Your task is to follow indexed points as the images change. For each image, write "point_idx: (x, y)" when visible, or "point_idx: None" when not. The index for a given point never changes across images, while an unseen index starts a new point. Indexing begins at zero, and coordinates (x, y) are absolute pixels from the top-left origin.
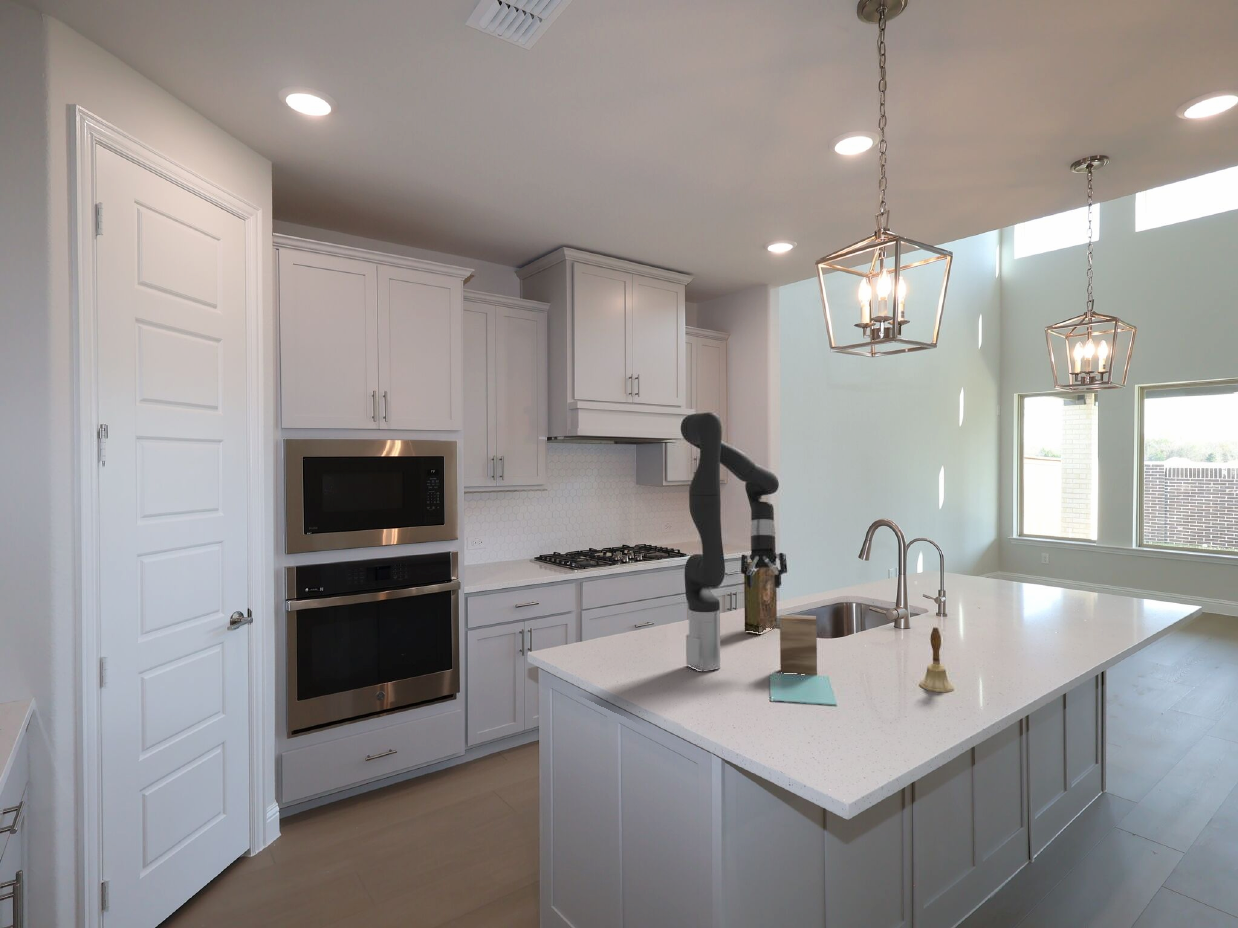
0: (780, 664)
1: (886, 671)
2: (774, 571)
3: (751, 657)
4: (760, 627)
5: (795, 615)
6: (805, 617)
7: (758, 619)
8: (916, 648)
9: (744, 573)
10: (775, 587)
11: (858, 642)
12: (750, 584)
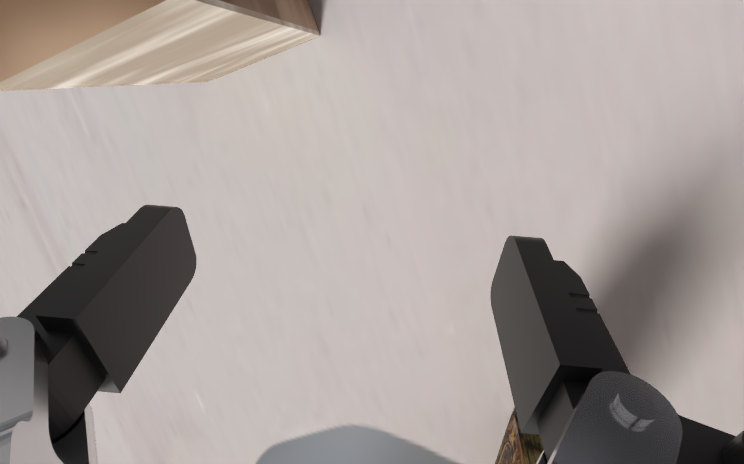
0: (302, 6)
1: (57, 189)
2: (15, 374)
3: (470, 140)
4: (514, 440)
5: (97, 40)
6: (17, 7)
7: (526, 462)
8: (98, 413)
9: (717, 443)
10: (177, 209)
11: (225, 423)
12: (521, 255)
